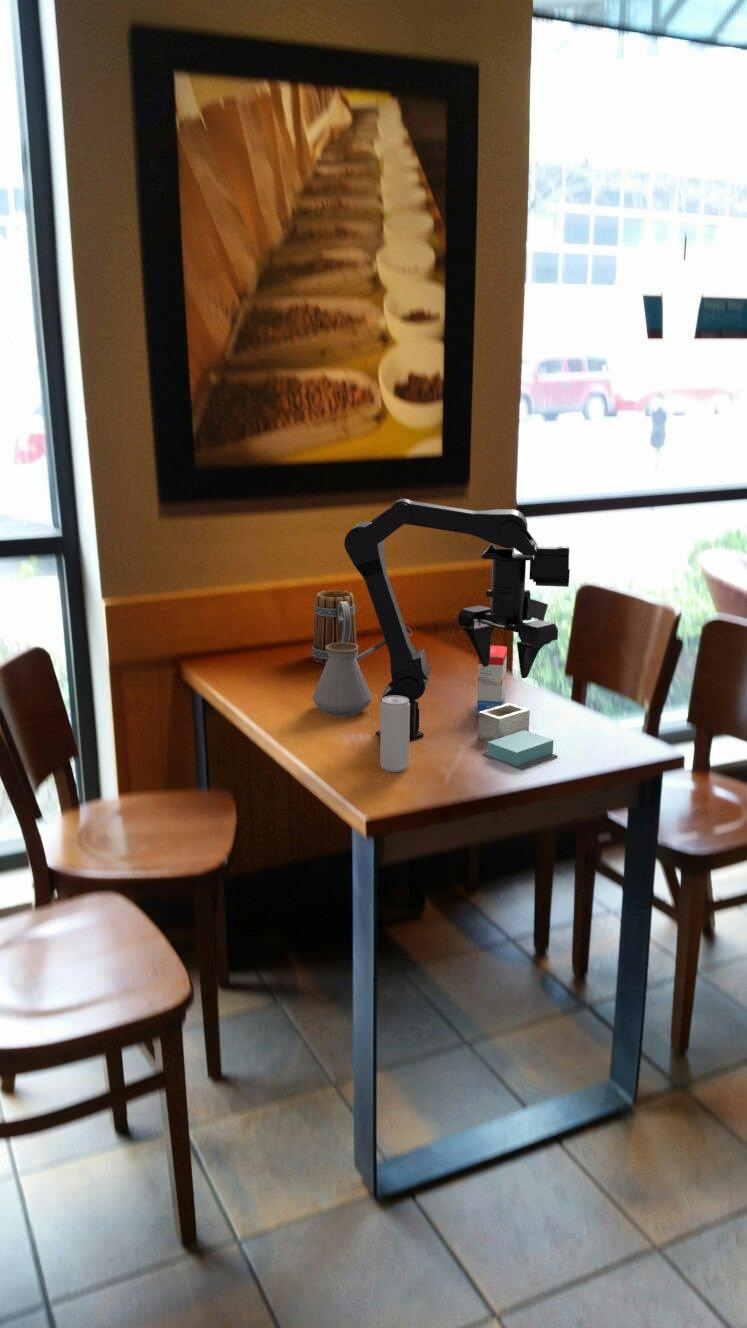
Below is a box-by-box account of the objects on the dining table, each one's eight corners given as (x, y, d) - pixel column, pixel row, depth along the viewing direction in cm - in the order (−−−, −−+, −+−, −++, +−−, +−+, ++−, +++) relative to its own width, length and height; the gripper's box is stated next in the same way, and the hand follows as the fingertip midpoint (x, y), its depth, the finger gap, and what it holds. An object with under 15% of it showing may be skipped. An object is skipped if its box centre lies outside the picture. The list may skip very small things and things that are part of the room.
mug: (306, 654, 248) (305, 590, 244) (350, 651, 251) (350, 587, 247) (324, 673, 234) (323, 605, 230) (370, 669, 237) (371, 602, 233)
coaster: (521, 770, 180) (522, 767, 180) (482, 755, 187) (482, 753, 187) (557, 757, 186) (557, 755, 186) (517, 743, 193) (518, 741, 192)
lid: (516, 766, 181) (516, 752, 180) (487, 755, 186) (487, 742, 185) (552, 753, 187) (553, 740, 186) (524, 742, 192) (524, 730, 191)
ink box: (501, 716, 207) (504, 642, 203) (476, 715, 208) (478, 641, 204) (505, 703, 215) (508, 631, 211) (480, 701, 216) (483, 630, 212)
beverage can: (408, 762, 184) (409, 694, 180) (409, 773, 179) (410, 704, 176) (379, 762, 183) (380, 695, 180) (380, 773, 179) (381, 704, 175)
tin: (498, 745, 191) (499, 719, 190) (477, 738, 195) (478, 712, 194) (528, 735, 196) (529, 709, 195) (508, 728, 200) (509, 703, 199)
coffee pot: (330, 724, 202) (330, 646, 198) (302, 707, 212) (301, 633, 208) (425, 706, 213) (427, 632, 209) (394, 690, 222) (395, 619, 218)
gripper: (581, 587, 184) (576, 675, 188) (500, 570, 197) (497, 653, 202) (537, 596, 177) (533, 687, 181) (456, 578, 190) (454, 663, 195)
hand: (504, 672), depth 190 cm, fingers open, 9 cm apart
